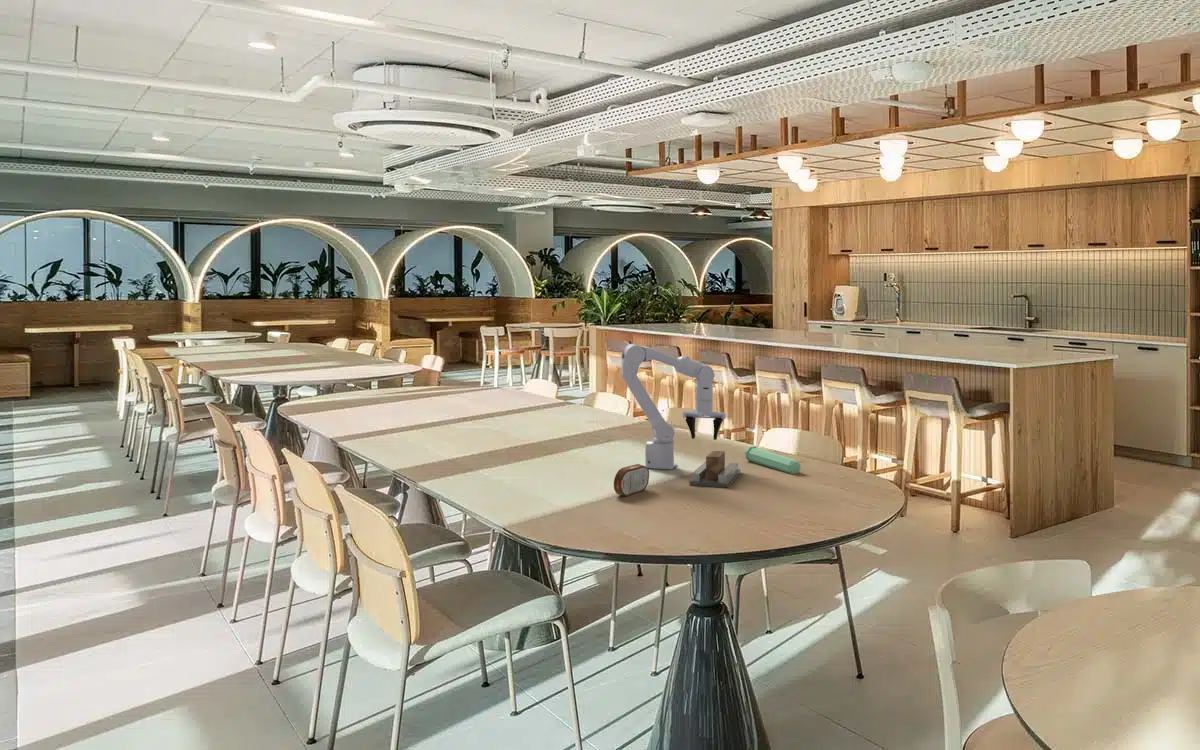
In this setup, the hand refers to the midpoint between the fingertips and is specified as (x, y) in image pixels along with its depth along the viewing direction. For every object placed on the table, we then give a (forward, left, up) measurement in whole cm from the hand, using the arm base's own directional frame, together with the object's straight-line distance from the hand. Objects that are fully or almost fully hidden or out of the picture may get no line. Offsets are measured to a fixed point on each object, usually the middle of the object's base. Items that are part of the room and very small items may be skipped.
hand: (704, 438), depth 308 cm
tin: (-12, -45, -10) cm, 48 cm away
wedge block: (+8, -19, -8) cm, 22 cm away
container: (+23, +4, -10) cm, 25 cm away
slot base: (+8, -19, -9) cm, 23 cm away
